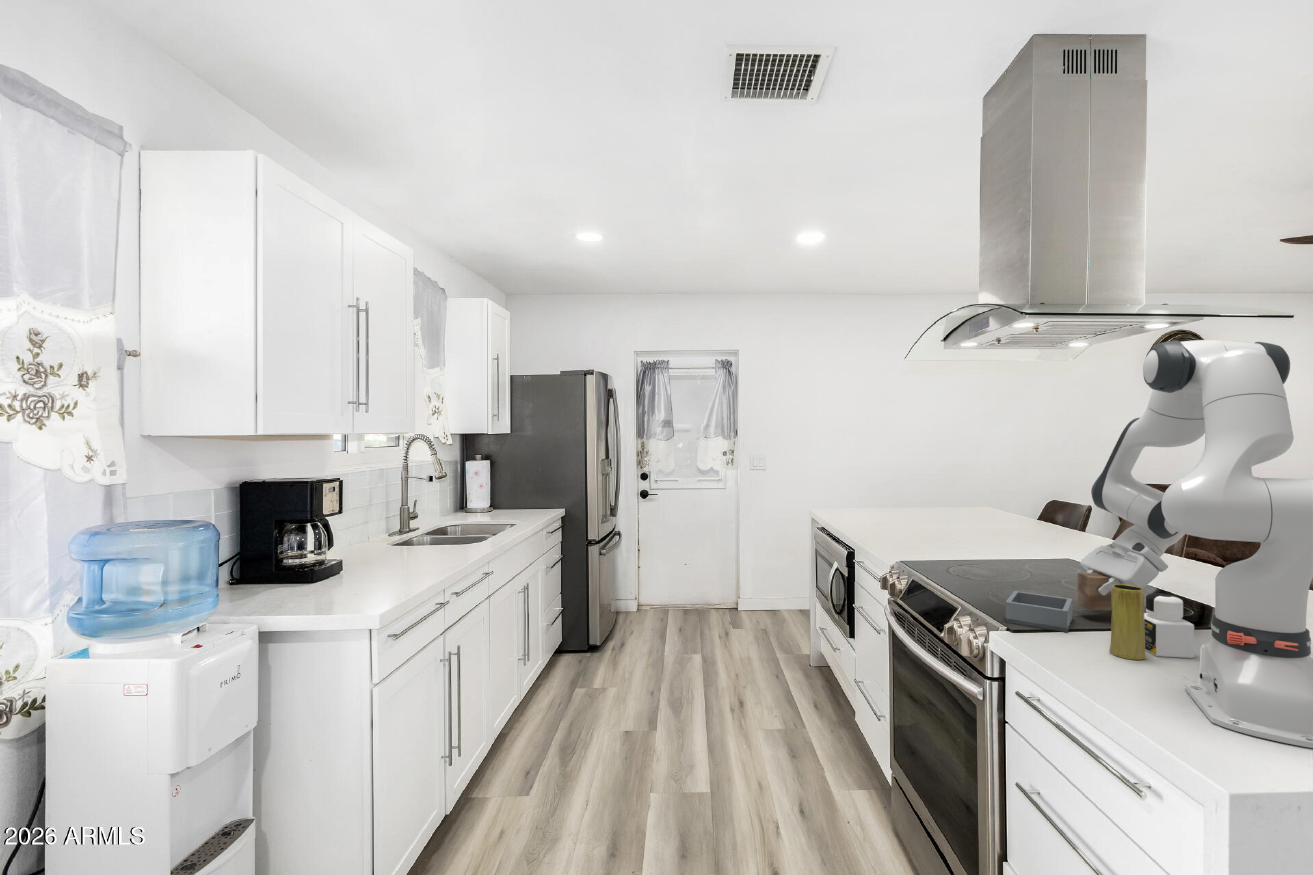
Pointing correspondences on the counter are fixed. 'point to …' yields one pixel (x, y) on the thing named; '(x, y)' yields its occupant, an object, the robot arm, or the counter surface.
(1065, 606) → the bin
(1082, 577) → the block
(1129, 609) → the vase
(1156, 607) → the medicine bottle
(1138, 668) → the counter surface
